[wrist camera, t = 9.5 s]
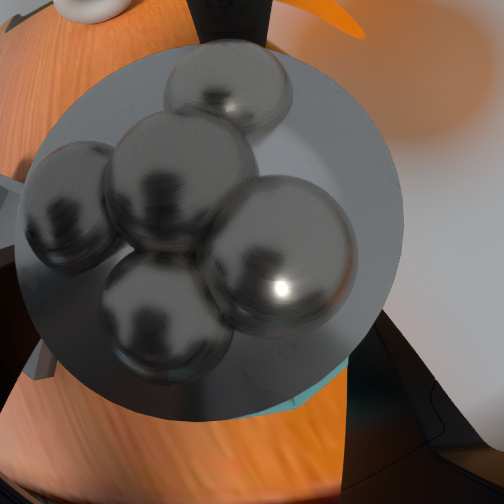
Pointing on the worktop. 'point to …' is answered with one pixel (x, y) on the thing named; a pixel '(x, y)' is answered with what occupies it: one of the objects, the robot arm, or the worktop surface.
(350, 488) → the robot arm
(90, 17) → the donut
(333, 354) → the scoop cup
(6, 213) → the parts tray
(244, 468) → the worktop surface
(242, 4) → the drinking cup
